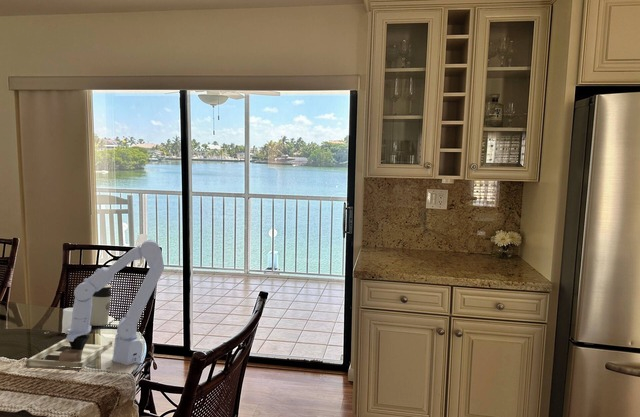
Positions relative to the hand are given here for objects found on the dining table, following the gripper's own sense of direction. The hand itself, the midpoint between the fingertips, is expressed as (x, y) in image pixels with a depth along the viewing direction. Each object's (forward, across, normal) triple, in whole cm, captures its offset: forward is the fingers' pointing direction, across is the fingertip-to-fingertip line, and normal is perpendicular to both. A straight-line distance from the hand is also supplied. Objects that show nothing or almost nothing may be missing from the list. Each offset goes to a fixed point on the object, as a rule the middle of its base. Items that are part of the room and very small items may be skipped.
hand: (76, 357), depth 148 cm
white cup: (+2, -36, -18) cm, 41 cm away
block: (+1, +4, 0) cm, 4 cm away
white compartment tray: (+2, -6, -4) cm, 7 cm away
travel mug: (+2, -54, -14) cm, 56 cm away
